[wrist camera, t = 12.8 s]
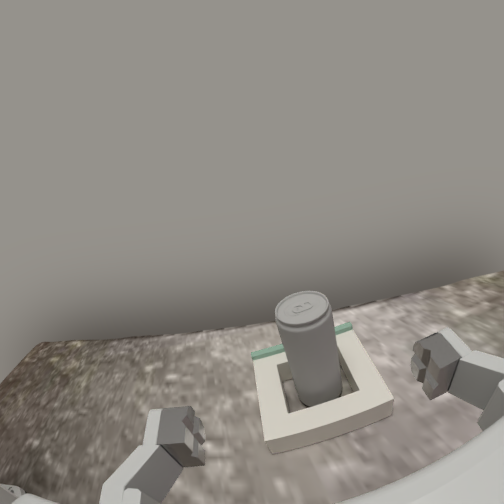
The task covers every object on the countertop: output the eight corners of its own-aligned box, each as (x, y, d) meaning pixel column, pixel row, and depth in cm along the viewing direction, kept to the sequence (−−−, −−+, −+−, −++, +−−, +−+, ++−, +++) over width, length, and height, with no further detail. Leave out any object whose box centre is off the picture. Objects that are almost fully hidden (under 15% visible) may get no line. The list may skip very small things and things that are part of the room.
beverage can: (293, 386, 30) (266, 302, 26) (332, 370, 30) (316, 283, 26) (307, 417, 26) (282, 333, 21) (350, 398, 26) (340, 309, 21)
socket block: (272, 454, 22) (263, 438, 21) (259, 372, 34) (251, 352, 32) (391, 414, 22) (394, 394, 21) (352, 343, 33) (349, 321, 32)
